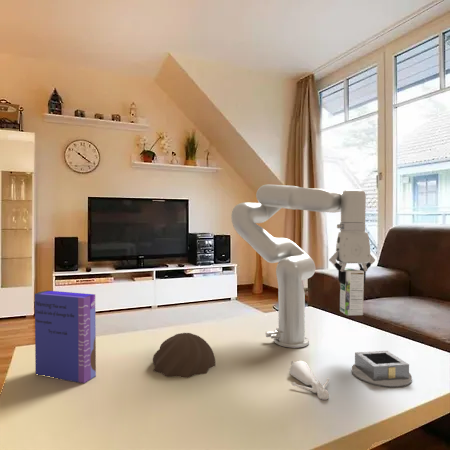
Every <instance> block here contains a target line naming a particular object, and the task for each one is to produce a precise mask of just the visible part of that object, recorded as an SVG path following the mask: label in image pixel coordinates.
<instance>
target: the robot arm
mask: <svg viewBox="0 0 450 450" xmlns="http://www.w3.org/2000/svg"><path fill="white" fill-rule="evenodd" d="M255 193H256V194H255V197H256V200H257V201H258V202H247V201H246V202H240V203H238V204H236V205H235V206H234V207H233V209H232V210H231V211H232V212H231V223H232V226H233V229H234V230H235V231H236V233H237V235H239V236H240V238H242V239H243V240H244V241H245V242H246V243H247V244H248V245H249V246H250V247H251V248H252V249H253V250H254V251H255V252H256V253H257V254H259V256H260V257H261V258H262V259H263V260H265V261H266V262H267V263H269V264H275V263H277V265H276V268H275V275H276V280H277V281H276V282H277V288H278V292H277V293H278V297H277V298H278V299H277V300H278V327H276V329H275V330H273V331H265V337H266V338H270V339H273V340H274V341H273V342H274V343H275V344H276V345H278V346H280V347H284V348H290V349H291V348H293V349H297V348H305V347H307V346H308V345H309V344H310V339H309V338H308V337H307V336H306V334H305V331H306V329H305V326H306V325H305V323H306V321H305V317H306V315H305V314H306V313H305V310H306V305H305V304H306V301H305V300H306V299H305V295H306V294H305V288H304V285H303V281H305V280H308V279H310V278H312V277H313V276H314V274H315V273H316V264H315V261H314V259H313V258H312V257H311V256H310V255H309V253H306V251H304V250H303V249H302V248H301V247H300V246H299V245H297V243H296V242H294V241H293V240H291V239H289V238H286V237H274V236H273V235H272V234H270V233H269V232H268V231H267V230H266V229H265V228H263V226H261V225H258V224H263V223H265V222H267V221H269V219H270V218H272V217H273V216H274V215H275V214H276V213H278V212H279V211H280V210H281V209H287V210H301V211H307V212H316V213H329V214H330V213H340V223H339V224H337V225H336V228H337V229H339V232H338V234H337V239H336V245H335V246H336V247H335V252H334V254H333V255H332V256H331V257H330V258H329V260H328V261H329V262H330V263H331V264H332V265H333V267H335V269H336V270H337V272H338V273H337V274H338V276H337V277H338V278H337V279H338V283H339V284H340V283H342V284H345V283H346V272H344V269H345V268H347V264H357V265H358V268H359V270H361V271H364V285H365V283H366V276H367V274H366V273H367V271H368V270H369V268H370V267H371V266H372V265H373V263H375V261H376V259H375V258H374V256H373V255H372V254H371V244H370V238H369V233H368V232H367V231H366V204H367V203H366V199H367V196H366V195H367V194H366V192H365V191H364V190H362V189H346V190H343V191H339V190H334V189H333V190H332V189H327V188H326V189H323V188H309V187H300V186H298V185H297V186H295V185H285V184H284V185H283V184H270V183H269V184H263V185H260V187H259V188H258V189H257V191H256V192H255Z"/></svg>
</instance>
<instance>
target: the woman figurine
mask: <svg viewBox="0 0 450 450" xmlns="http://www.w3.org/2000/svg"><path fill="white" fill-rule="evenodd" d="M288 371H289V374H290V375H291V376H292V377H294V378H295V379H296V380H298V381H299V382H301V383H303V384H304V385H300V384H297V382H295V381H293V382H290V385H292V386H294V387H298V388H302V389H303V390H308V391H310V392H312V393H313V394H317V398H318V399H320V400H326V401H327V400H328V399H329V398H330V393H329V391H328V390H327V389H326V387H327V385H328V383H329V381H330V378H329V377H326V381H325V383H324V384H323V385H322V383H321V381H319V380H318V379H317V378H316V376H315V374H314V372H313V371H312V369H311V368H310V366H309V364H308V363H307V362H306V361H304V360H297V361H293V360H292V361H290V368H289V369H288ZM317 380H318V381H317ZM305 385H306V386H305ZM308 386H311V387H308Z"/></svg>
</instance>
